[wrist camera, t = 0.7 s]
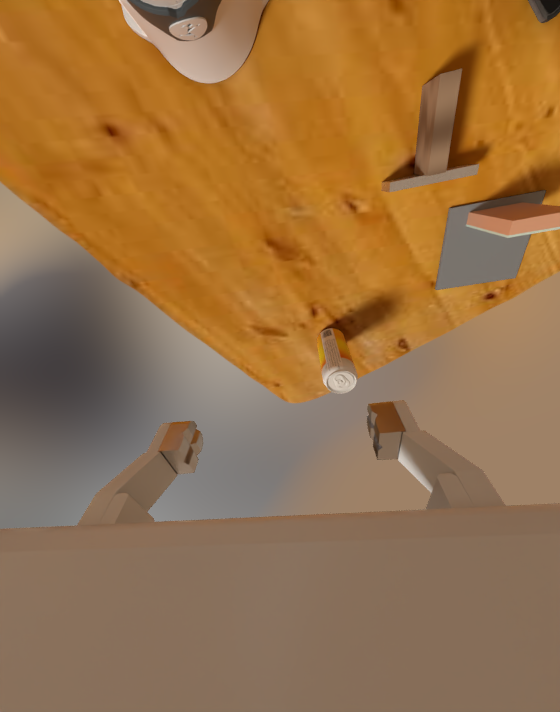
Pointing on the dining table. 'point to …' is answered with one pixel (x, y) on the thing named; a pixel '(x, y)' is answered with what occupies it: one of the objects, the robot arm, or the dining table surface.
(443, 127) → the walnut scraper
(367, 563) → the robot arm
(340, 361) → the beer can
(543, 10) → the phone
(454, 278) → the charcoal mat
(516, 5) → the dining table surface
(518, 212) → the terracotta tile
